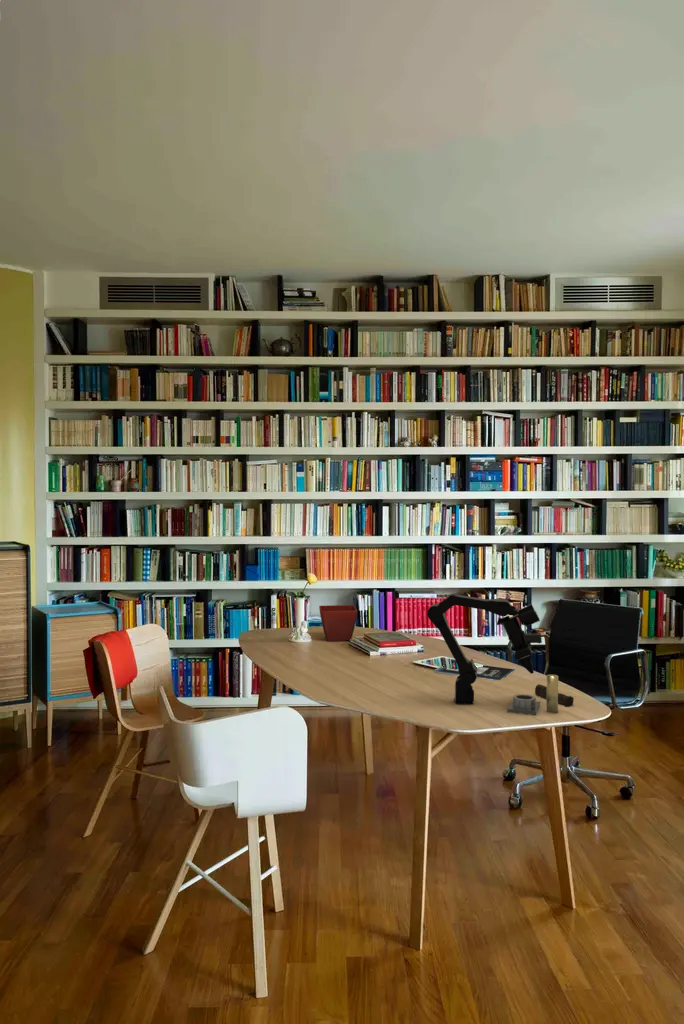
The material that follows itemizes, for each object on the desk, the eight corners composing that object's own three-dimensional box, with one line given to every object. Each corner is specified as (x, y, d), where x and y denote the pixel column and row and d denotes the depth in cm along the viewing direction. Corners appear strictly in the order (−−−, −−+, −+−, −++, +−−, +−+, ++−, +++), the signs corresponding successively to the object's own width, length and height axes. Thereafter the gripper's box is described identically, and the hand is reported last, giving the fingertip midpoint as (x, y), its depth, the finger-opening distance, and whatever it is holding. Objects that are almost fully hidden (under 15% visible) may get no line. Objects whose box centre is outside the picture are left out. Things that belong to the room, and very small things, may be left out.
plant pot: (320, 643, 402) (320, 610, 401) (318, 636, 421) (319, 605, 420) (357, 642, 403) (357, 610, 403) (353, 635, 422) (353, 605, 422)
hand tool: (574, 706, 286) (574, 694, 286) (565, 707, 285) (566, 695, 285) (540, 694, 304) (541, 682, 304) (532, 695, 302) (532, 683, 302)
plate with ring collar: (507, 712, 278) (507, 700, 277) (513, 702, 291) (513, 691, 290) (535, 715, 274) (536, 703, 274) (540, 705, 287) (540, 693, 287)
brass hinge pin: (547, 713, 277) (548, 677, 276) (545, 710, 281) (545, 674, 280) (559, 713, 277) (559, 677, 276) (556, 710, 281) (556, 674, 280)
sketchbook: (499, 682, 323) (500, 677, 323) (433, 674, 338) (433, 669, 338) (514, 671, 342) (514, 667, 342) (450, 664, 356) (450, 659, 356)
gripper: (535, 627, 275) (554, 667, 274) (534, 618, 293) (551, 656, 292) (506, 639, 277) (524, 679, 276) (506, 630, 295) (524, 667, 294)
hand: (532, 670), depth 285 cm, fingers open, 9 cm apart
